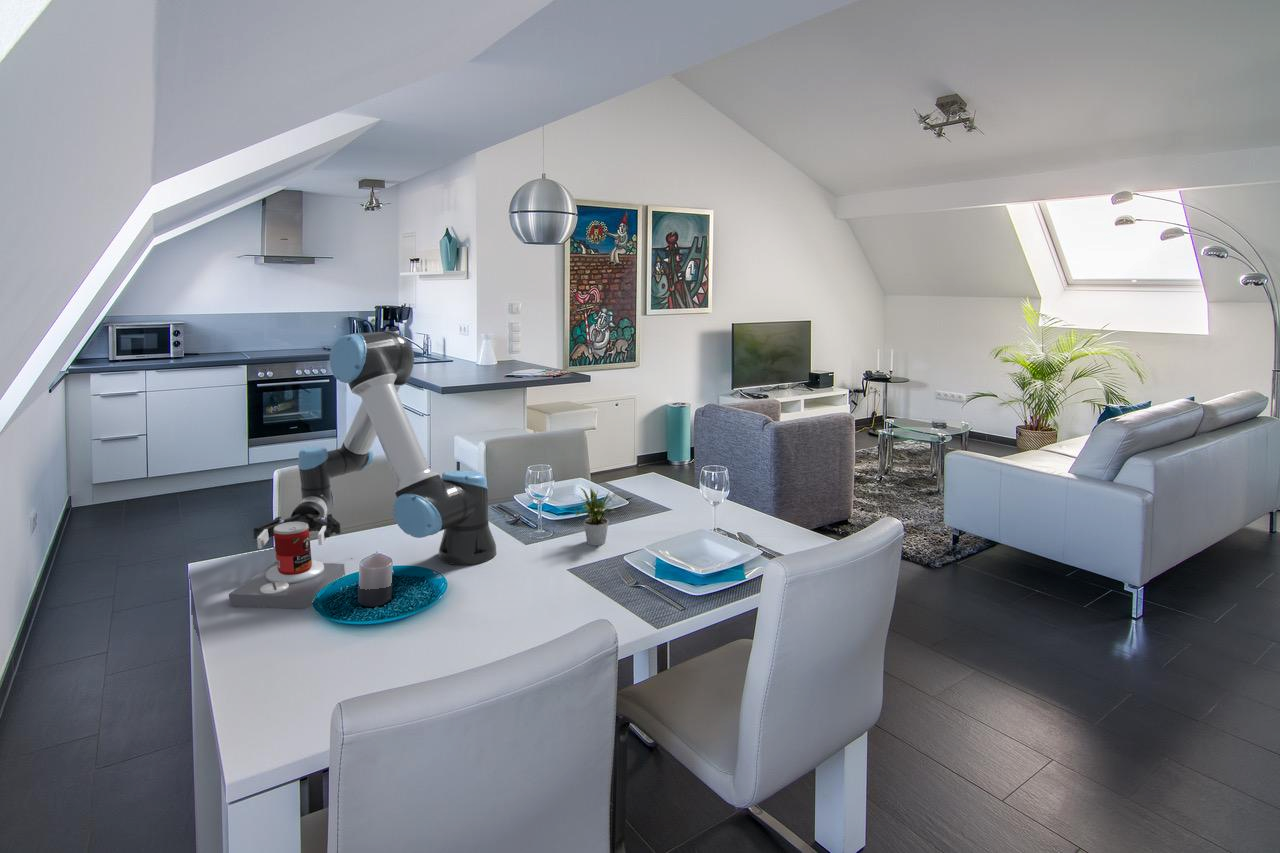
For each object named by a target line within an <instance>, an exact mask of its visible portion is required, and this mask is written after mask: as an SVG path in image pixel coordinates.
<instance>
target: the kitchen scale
mask: <svg viewBox="0 0 1280 853" xmlns="http://www.w3.org/2000/svg"><path fill="white" fill-rule="evenodd" d="M343 575H344V576H346V571H345V563H330V562H326V563H325V562H322V561H319V560H314V559H312V566H311V569H310V570H308V571H306V572H304V573H301V574H295V575H284V574H281V573H279V571H278V569H277V561H275V562H273V563H271V564H270V565H268V566H267V567H266V568H264V569H263V570H261V571H260V572H259V573H257V574H255V575H254V576H253V577H251V578H250V579H248V580H247V581H246V582H244V583H243V584H241V585H240V586H238V587H237V588H236V589H234V590H232V591H231V592H230V593H228V600H229V607H236V608H239V607H240V608H241V607H242V608H244V607H245V608H269V609H270V608H271V609H273V608H274V609H299V610H306V609H307V608H309V606H311V605H312V604H313V603H312V601H313V599H314V597H315V596H316V595H317V593H318V592H319V591H320V590H321V589H322V588H324V587H325V586H327V585H328V584H330V583H331V582H333V581H334V580H336V579H338V578H340V577H342V576H343ZM344 576H343V577H344ZM343 577H342V578H343Z"/></svg>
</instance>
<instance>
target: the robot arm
mask: <svg viewBox="0 0 1280 853" xmlns="http://www.w3.org/2000/svg"><path fill="white" fill-rule="evenodd" d="M414 362H415V354H414V350H413V347H412V345H411V344H410V342H409V340H407V338H406V337H404V335H401V334H400V333H398V332H396V331H393V330H392V331H390V330H381V331H373V332H362V333H361V332H360V333H359V332H355V333H351V334H347V335H342V336H340V337H339V338H337V339H336V340H335V342H334V343H333V345H331V348H330V353H329V367H330V371H331V373H332V375H333V377H334V378H335V379H336V380H337V381H339V382H341V383H343V384H348V386H349V389H350V391H351V394H354V395H355V396H356V395H357V396H359V397H360V398H361V403H360V404H359V405H360V406H359V407H358V409H357V412H356V414H355V416H354V418H353V421H352V422H351V425H350V427H349V430H348V432H347V434H346V436H345V438H344V440H343V442H342V444H341V447H340V448H337V449H332V450H330V451H328V449H327V448H326V447H324V446H312V447H311V446H310V447H304V448H303V449H301V450H299V452H298V458H297V459H298V461H297V462H298V464H297V467H298V470H299V478H300V494H301V501H300V502H299V503H298V504H297V505H296V507H295V508H294V509H293V511H292V513H291V515H290V517H287V518H285V519H282V517H281V516H277V517H275V518H274V519H272V520H270V521H268V522H265V523H263V524H261V525H258V526H256V527H254V528H253V529H252V531H253V539H255V540H256V541H257V549H259V550H260V549H261V550H262V549H263V548H264V547H265V545H266V544H267V543H268V541H270V538H271V537H274V527H275V526H277V525H279V524H283V523H287V522H305V523H307V524H308V527H309V533H311V532H316V531H317V532H318V533H317V541H318V544H317V545H318V546H322V545H323V543H324V542H325V541H326V539H327V538H330V537H331V535H333V534H334V533H335V535H339V534H341V522H339V521H337V520H336V519H335V518H334V517H333V514H332V513H331V514H330V513H329V512H330V511H331V510H332V509H333V506H334V503H335V502H334V501H335V496H334V493H333V491H332V489H331V479H333V478H337V477H339V476H340V477H341V476H344V475H347V474H351V473H354V472H360V471H362V470H363V469H364V470H365V469H366V468H367V469H368V468H369V467H370V466H371V465H372V463H373V462H374V459H373V457H374V452H373V450H372V446H373V444H374V443H375V440H376V439H377V438H378V440H379V442H380V445H381V448H382V450H383V452H384V455H385V457H386V459H387V462H388V463H389V464H388V465H389V466H390V469H391V471H392V473H393V476H394V478H395V480H396V482H397V485H396V488H395V490H394V494H395V497H396V500H394V502H393V505H392V506H393V510H392V514H393V518H394V521H395V523H396V524H397V526H398V528H400V529H401V531H403V532H404V533H405V534H406V535H410V537H413V538H418V539H421V538H426V537H428V536H433V535H436V534H438V533H439V532H442V531H443V533H442V537H441V540H440V544H439V548H438V556H439V557H438V558H439V559H440V561H442V562H443V563H447V564H448V565H450V564H451V565H456V566H457V565H459V566H461V565H462V566H464V565H475V564H481V563H483V562H487V561H489V560H492V559H493V558H494V557H495V556H496V555H497V545H496V541H495V539H494V535H493V534H492V531H491V528H490V526H489V524H490V523H489V500H488V498H489V496H488V489H489V487H488V483H487V480H488V479H487V477H486V476H485V474H484V473H482V472H477V471H472V470H449V471H445V472H443V473H442V474H441V475H440V474H439V473H438V472H436V471H434V470H432V469H431V468H430V464H429V463H428V461H427V459H426V456H425V454H424V452H423V450H422V446H421V445H420V442H419V440H418V438H417V435H416V433H415V430H414V428H413V426H412V423H411V421H410V419H409V416H408V414H407V412H406V409H405V407H404V405H403V403H402V400H401V398H400V395H399V390H400V388H401V386H405V385H406V384H407V382H408V380H409V379H410V377H411V374H412V371H413V368H414V364H415V363H414ZM328 513H329V514H328Z"/></svg>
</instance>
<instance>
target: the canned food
mask: <svg viewBox="0 0 1280 853" xmlns="http://www.w3.org/2000/svg"><path fill="white" fill-rule="evenodd" d="M273 539H274V540H273V542H274V547H275V548H274V550H275V558H276V562H277V569H278V571H279V573H281V574H284V575H295V574H301V573H304V572H306V571H308V570H310V569H311V566H312V560H313V559H312V551H311V550H312V549H311V537H310V532H309V527H308V524H307V523H305V522H287V523H283V524H279V525H277V526H275V527H274V536H273Z"/></svg>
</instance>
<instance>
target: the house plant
mask: <svg viewBox="0 0 1280 853" xmlns="http://www.w3.org/2000/svg"><path fill="white" fill-rule="evenodd" d="M578 488H579V489H580V490H581V491H582V493H583V494H584V497H585V499H586V500H584V498H582V500H583V502H584V503H583V505H581V507H582V508H584V509H585V511H584V510H581V511H580V510H579V509H577V508H575V510H576V511H578V512H576V514H575V516H578V515H580V514H582V515H584V513H586V514H587V515H589V517H587V518H585V519H584V520H583V526H584V532H585V537H586V542H587V544H588V545H591V546H602V545H603V544H605V543H606V541H607V532H608V528H609V519H607V518H606V517H607V516H609V514H612V513H617V511H615V509H614V508H605V507H606V506H607V504H609V503H610V501H611V500H612V499H613V498H615V497H616V496H618V495H620V493H617V494H615V495H613V496H612V497H611V498H610V499H609V500H607V499H608V496H609V494H610V491H608V493H607V495H605V498H604V499H601V500H600V501H598V494H599V491H597V493H596V492H595V491H594V490H593V489H592V487H591V486H590V487H589V491H590V498H589V496H588V494H587V492H586V490H585V489H584V488H582V487H580V486H578ZM570 495H573V496H575V494H573V493H570ZM576 496H577V497H575V498H577V499H578V497H580V498H581V496H580V495H576ZM606 500H607V501H606ZM610 510H612V511H611V512H608V511H610ZM607 512H608V513H607ZM606 513H607V514H606ZM605 514H606V515H605ZM604 515H605V517H604Z"/></svg>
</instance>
